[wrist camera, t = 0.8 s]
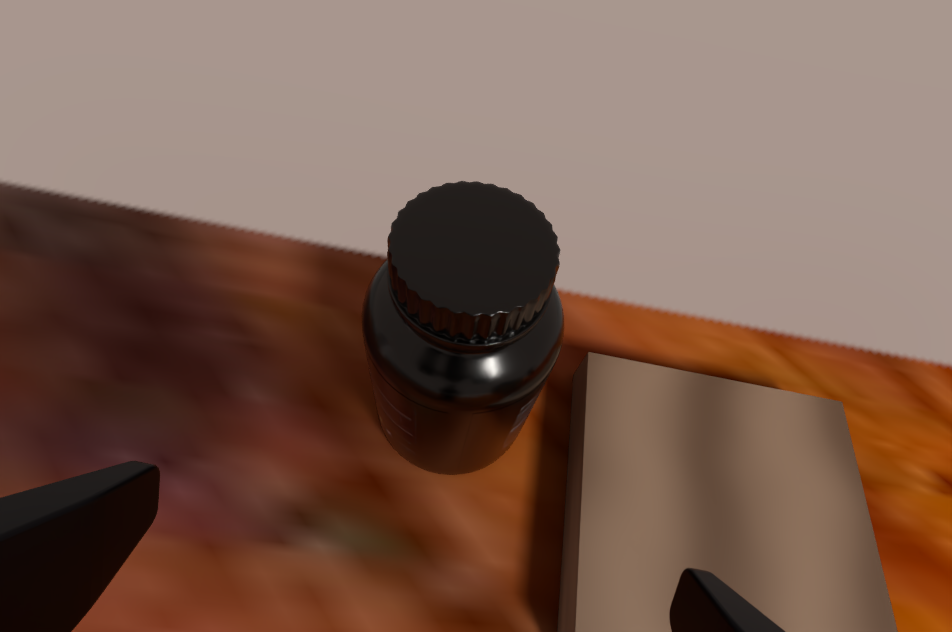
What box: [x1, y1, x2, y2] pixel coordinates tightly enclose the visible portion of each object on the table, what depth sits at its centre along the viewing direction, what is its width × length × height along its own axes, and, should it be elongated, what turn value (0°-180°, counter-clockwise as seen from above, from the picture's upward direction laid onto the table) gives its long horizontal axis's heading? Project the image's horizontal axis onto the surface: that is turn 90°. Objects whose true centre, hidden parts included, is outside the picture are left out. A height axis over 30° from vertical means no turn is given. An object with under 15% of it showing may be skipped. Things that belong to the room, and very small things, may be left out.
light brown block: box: [557, 352, 898, 632], centre depth 21 cm, size 12×12×2 cm
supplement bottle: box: [362, 181, 564, 475], centre depth 19 cm, size 7×7×12 cm
